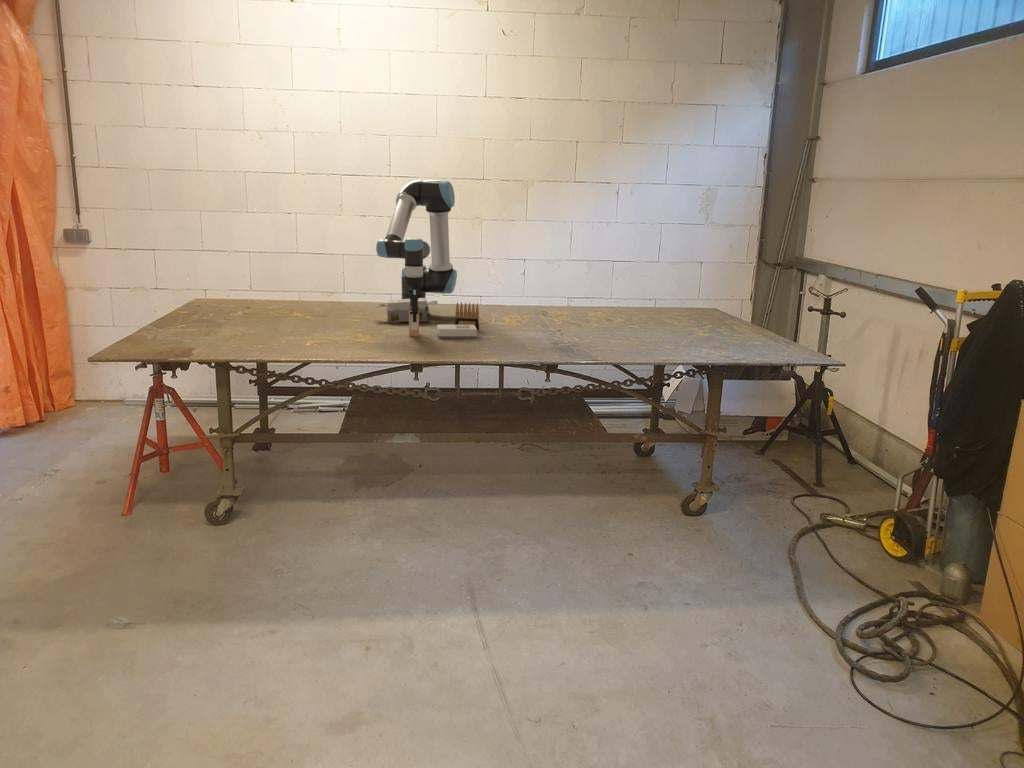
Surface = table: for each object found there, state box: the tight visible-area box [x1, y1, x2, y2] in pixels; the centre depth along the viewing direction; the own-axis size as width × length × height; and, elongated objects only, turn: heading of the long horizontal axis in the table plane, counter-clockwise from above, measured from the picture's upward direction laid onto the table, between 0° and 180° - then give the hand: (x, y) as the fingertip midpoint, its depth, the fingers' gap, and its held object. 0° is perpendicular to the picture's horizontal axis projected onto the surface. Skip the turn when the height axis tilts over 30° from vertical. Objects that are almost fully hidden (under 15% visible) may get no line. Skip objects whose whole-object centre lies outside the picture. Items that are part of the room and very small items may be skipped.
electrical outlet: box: [374, 297, 439, 324], centre depth 347 cm, size 12×28×10 cm, turn 98°
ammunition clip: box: [454, 302, 480, 331], centre depth 332 cm, size 11×2×12 cm, turn 86°
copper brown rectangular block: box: [408, 306, 420, 337], centre depth 316 cm, size 4×4×12 cm
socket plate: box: [436, 324, 478, 340], centre depth 318 cm, size 10×16×4 cm, turn 100°
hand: (413, 326), depth 316 cm, fingers open, 13 cm apart
